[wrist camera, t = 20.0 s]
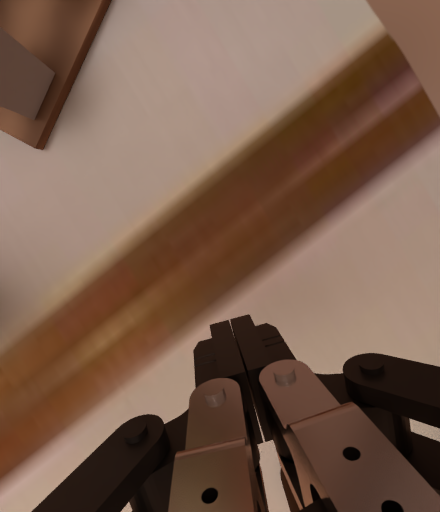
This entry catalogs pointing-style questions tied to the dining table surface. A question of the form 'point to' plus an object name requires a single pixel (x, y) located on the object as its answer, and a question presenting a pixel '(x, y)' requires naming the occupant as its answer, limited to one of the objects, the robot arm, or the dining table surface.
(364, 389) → the robot arm
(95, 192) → the dining table surface
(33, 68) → the slate key
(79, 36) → the console
